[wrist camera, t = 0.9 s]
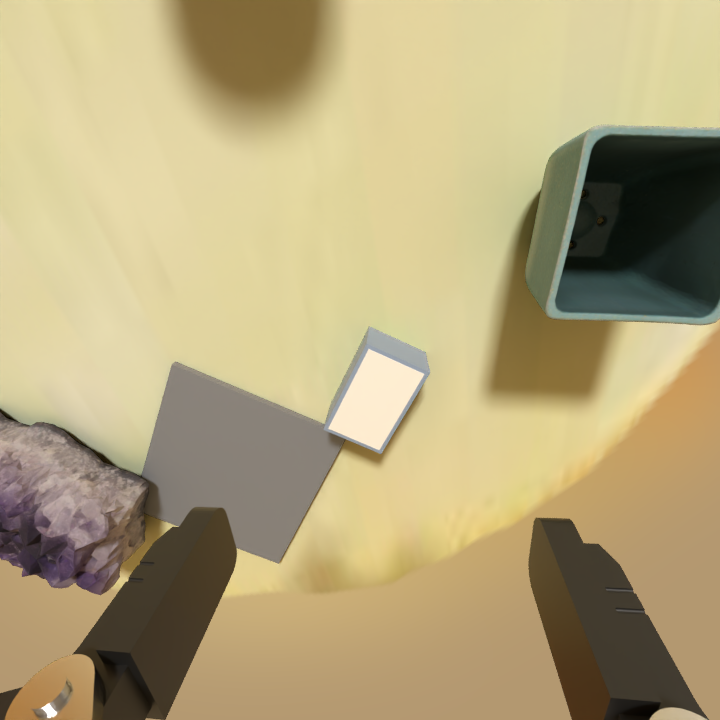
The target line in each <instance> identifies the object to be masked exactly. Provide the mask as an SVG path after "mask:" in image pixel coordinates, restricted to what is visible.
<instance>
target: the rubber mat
mask: <svg viewBox="0 0 720 720" xmlns="http://www.w3.org/2000/svg"><path fill="white" fill-rule="evenodd" d="M324 425H325V424H322V423H320V422H317V421H315V420H313V419H310V418H308V417H306V416H303V415H301V414H298V413H296V412H294V411H291V410H289V409H287V408H284V407H282V406H279V405H277V404H275V403H272V402H270V401H267V400H265V399H263V398H260V397H258V396H256V395H253V394H251V393H248V392H246V391H244V390H241V389H239V388H237V387H234V386H232V385H229V384H227V383H225V382H222V381H220V380H218V379H215V378H213V377H210V376H208V375H206V374H203V373H201V372H199V371H196V370H194V369H191V368H189V367H187V366H184V365H182V364H180V363H177V362H175V363H173V364H172V366H171V370H170V373H169V377H168V381H167V384H166V388H165V392H164V395H163V399H162V403H161V406H160V410H159V414H158V417H157V421H156V425H155V428H154V432H153V436H152V439H151V443H150V447H149V450H148V454H147V458H146V461H145V465H144V469H143V472H142V476H141V478H142V479H144V480H145V481H147V482H148V484H149V495H148V498H147V500H146V503H145V504H146V505H145V508H144V510H143V513H144V514H147V515H149V516H152V517H155V518H158V519H160V520H163V521H166V522H168V523H171V524H174V525H176V526H180V525H181V523H182V522H183V520H184V519H185V517H186V516H187V514H188V513H189V512H190V510H191V509H193V508H194V507H219V508H224V509H225V511H226V513H227V517H228V520H229V524H230V527H231V531H232V534H233V538H234V541H235V544H236V548H238V549H241V550H243V551H246V552H249V553H251V554H254V555H257V556H260V557H262V558H265V559H268V560H270V561H273V562H276V563H278V564H279V562H280V560H281V558H282V556H283V555H284V553H285V551H286V549H287V547H288V545H289V543H290V542H291V540H292V538H293V536H294V534H295V532H296V530H297V529H298V527H299V525H300V523H301V521H302V519H303V517H304V516H305V514H306V512H307V510H308V508H309V506H310V504H311V503H312V501H313V499H314V497H315V495H316V493H317V491H318V490H319V488H320V486H321V484H322V482H323V480H324V478H325V477H326V475H327V473H328V471H329V469H330V467H331V465H332V464H333V462H334V460H335V458H336V456H337V454H338V452H339V450H340V449H341V447H342V445H343V443H344V441H345V439H344V438H342V437H339V436H337V435H335V434H332V433H330V432H328V431H325V430H323V429H324Z"/></svg>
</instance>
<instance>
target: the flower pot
mask: <svg viewBox="0 0 720 720" xmlns="http://www.w3.org/2000/svg"><path fill="white" fill-rule="evenodd" d="M582 190H585V191H586V193H587V194H586V196H585V197H584V198H582V199H581V194H582ZM599 217H603V218H604V221H603V223H602V224H600V225H598V224H597V219H598V218H599ZM570 241H572V242H573V243H574V245H573V247H572V248H569V244H570ZM525 279H526V284H527V286H528V288H529V290H530V292H531V293H532V295H533V296H534V298H535V299H536V301H537V302H538V304H539V305H540V307H541V308H542V309H543V311H544V312H545V314H546V315H547V316H548V317H549V318H551V319H559V320H593V321H594V320H600V321H602V320H603V321H625V322H656V323H675V324H689V325H707V324H712V323H715V322H717V321H718V320H719V319H720V128H697V127H692V128H688V127H659V126H656V127H654V126H622V125H618V126H617V125H598V126H594V127H592V128H591V129H589V130H587V131H585V132H584V133H582V134H580V135H579V136H577V137H575V138H574V139H572V140H570V141H569V142H567V143H565V144H564V145H562V146H561V147H559V148H558V149H557V150H556V151H555V152H554V153H553V154H552V155H551V157H550V158H549V160H548V163H547V165H546V169H545V173H544V178H543V183H542V189H541V194H540V199H539V204H538V209H537V214H536V219H535V224H534V229H533V234H532V239H531V244H530V249H529V253H528V258H527V263H526V270H525Z"/></svg>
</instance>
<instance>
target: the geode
mask: <svg viewBox="0 0 720 720" xmlns="http://www.w3.org/2000/svg"><path fill="white" fill-rule="evenodd" d="M148 495H149V484H148V482H147V481H145V480H144V479H142V478H141V477H139V476H138V475H137V474H135V473H132V472H129V471H125V470H121V469H119V468H117V467H115V466H113V465H110V464H107V463H104V462H103V461H102V460H101V459H100V458H99V457H98V456H97V455H96V454H95V453H94V452H93V451H92V450H91V449H89V448H87V447H85V446H83V445H81V444H80V443H78V442H76V441H75V440H74V439H73V438H72V437H71V436H69V435H68V434H67V433H66V432H65V431H64V430H62V429H60V428H59V427H57V426H55V425H53V424H48V423H44V422H37V423H35V424H33V425H32V426H29V425H25V424H22V423H19V422H17V421H14V420H10V419H7V418H6V417H5V416H4V415H3V414H2V413H1V412H0V558H1V559H2V560H7V561H9V562H10V563H11V564H12V565H13V566H18V567H20V568H23V571H22V577H24V576H28V575H38V576H39V577H41V578H43V579H46V580H47V581H48V583H49V584H50V586H51V587H54V588H66V587H69V586H70V585H72V584H73V583H76V584H77V585H78V586H79V587H81V588H82V589H86V590H88V591H90V592H92V593H94V594H98V595H101V594H103V593H105V592H107V591H108V590H109V589H110V588H111V587H112V586H113V585H114V584H115V583H116V581H117V580H118V579H119V577H120V566H121V564H122V563H123V562H124V561H126V560H127V559H128V558H129V557H130V556H131V555H132V554H133V553H134V552H135V551H136V550H137V549H138V548H139V547H140V546H141V545H142V544H143V543H144V542H145V524H146V523H145V520H144V513H143V510H144V508H145V505H146V504H145V503H146V500H147V498H148Z"/></svg>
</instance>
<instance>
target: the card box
mask: <svg viewBox="0 0 720 720" xmlns="http://www.w3.org/2000/svg"><path fill="white" fill-rule="evenodd" d="M429 374H430V369H429V365H428V361H427V356H426V352H424V351H422V350H420V349H417V348H415V347H413V346H411V345H409V344H407V343H404V342H402V341H400V340H398V339H396V338H393V337H391V336H389V335H387V334H385V333H383V332H380V331H378V330H376V329H374V328H372V327H370V326H369V328H368V330H367V332H366V334H365V336H364V338H363V340H362V342H361V344H360V346H359V348H358V350H357V352H356V354H355V356H354V358H353V360H352V362H351V364H350V366H349V368H348V370H347V372H346V374H345V376H344V378H343V380H342V382H341V384H340V386H339V388H338V390H337V392H336V394H335V396H334V398H333V400H332V402H331V404H330V408H329V411H328V415H327V418H326V422H325V425H324V429H323V430H325V431H328V432H330V433H332V434H335V435H337V436H339V437H342V438H344V439H347V440H349V441H351V442H354V443H356V444H358V445H361V446H363V447H365V448H368V449H370V450H373V451H375V452H377V453H380V454H382V452H383V450H384V449H385V447H386V445H387V444H388V442H389V440H390V439H391V437H392V435H393V434H394V432H395V430H396V429H397V427H398V425H399V424H400V422H401V420H402V419H403V417H404V415H405V414H406V412H407V410H408V409H409V407H410V405H411V404H412V402H413V400H414V399H415V397H416V395H417V394H418V392H419V390H420V389H421V387H422V385H423V384H424V382H425V380H426V379H427V377H428V375H429Z"/></svg>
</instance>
